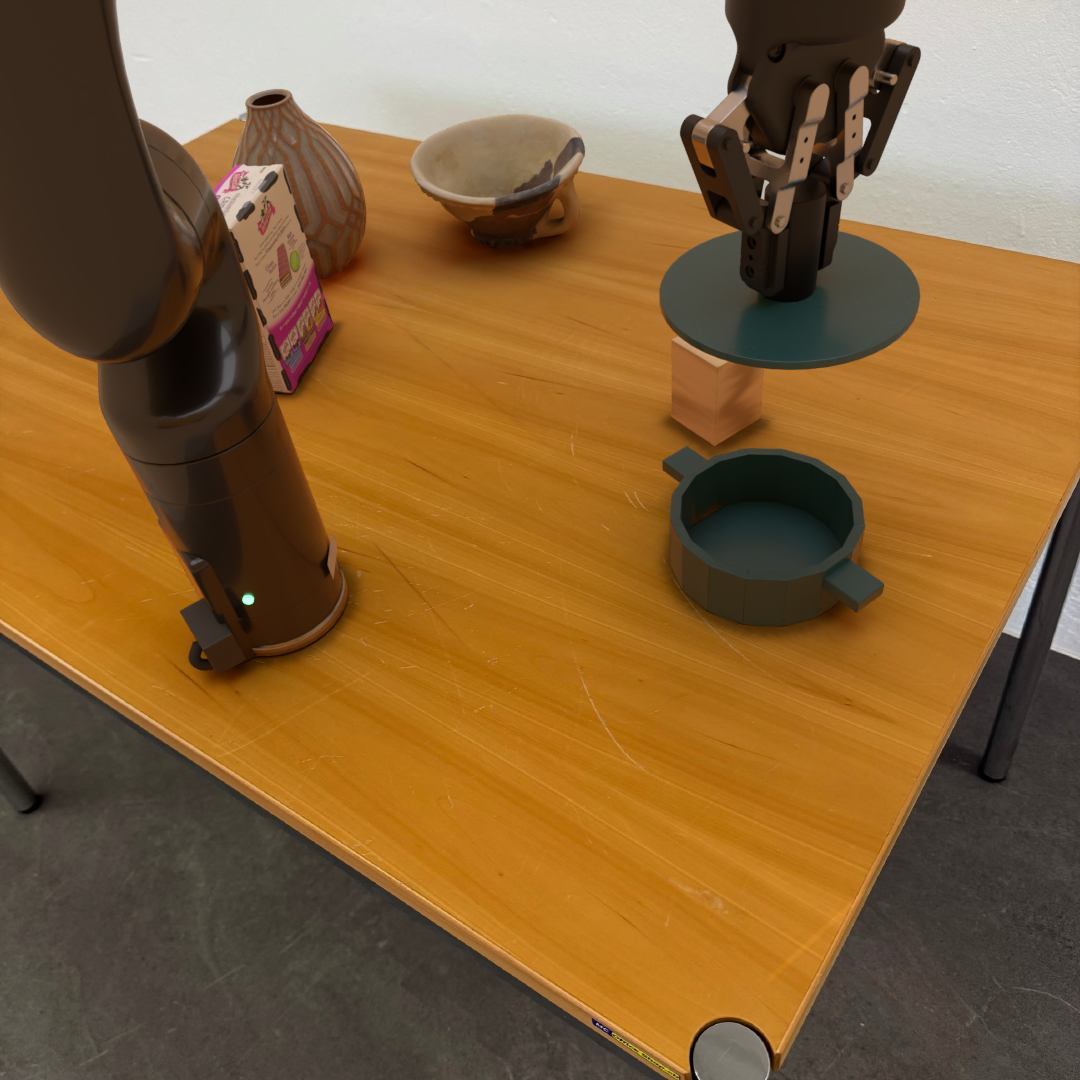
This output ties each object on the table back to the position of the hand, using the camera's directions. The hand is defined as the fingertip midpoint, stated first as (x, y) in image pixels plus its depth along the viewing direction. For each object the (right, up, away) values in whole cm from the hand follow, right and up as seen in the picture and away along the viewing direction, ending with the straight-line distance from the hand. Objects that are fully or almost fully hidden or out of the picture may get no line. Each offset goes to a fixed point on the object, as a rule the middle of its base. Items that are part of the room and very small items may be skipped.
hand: (787, 274), depth 50 cm
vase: (-37, +15, +51) cm, 65 cm away
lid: (0, -1, +1) cm, 1 cm away
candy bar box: (-37, +3, +39) cm, 54 cm away
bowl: (-16, +18, +52) cm, 57 cm away
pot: (+2, -15, +16) cm, 22 cm away
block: (+1, -5, +27) cm, 27 cm away
